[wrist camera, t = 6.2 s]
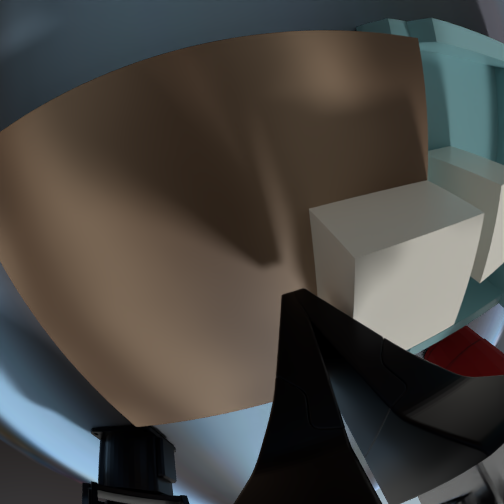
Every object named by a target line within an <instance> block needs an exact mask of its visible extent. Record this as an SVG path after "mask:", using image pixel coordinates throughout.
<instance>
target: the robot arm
mask: <svg viewBox="0 0 504 504" xmlns="http://www.w3.org/2000/svg"><path fill="white" fill-rule="evenodd" d="M340 412H341V413H340ZM341 414H342V416H343V418H344V420H345V422H346V424H347V426H348V428H349V429H350V431H351V433H352V435H353V437H354V439H355V441H356V443H357V445H358V447H359V448H360V450H361V452H362V454H363V456H364V458H365V460H366V462H367V464H368V466H369V468H370V470H371V471H372V473H373V475H374V477H375V479H376V481H377V483H378V485H379V487H380V488H381V490H382V492H383V494H384V496H385V498H386V500H387V502H388V504H400V503H403V502H405V501H408V500H410V499H413V498H415V497H417V496H418V498H419V500H420V502H421V504H504V375H497V376H484V377H467V376H462V375H459V374H456V373H453V372H451V371H449V370H447V369H444V368H442V367H440V366H438V365H436V364H433V363H431V362H429V361H427V360H425V359H422V358H420V357H418V356H416V355H414V354H412V353H410V352H408V351H406V350H405V349H403V348H401V347H399V346H398V345H396V344H394V343H393V342H391V341H389V340H388V339H386V338H383V336H381V335H379V334H378V333H376V332H374V331H373V330H371V329H370V328H368V327H366V326H365V325H363V324H362V323H360V322H358V321H357V320H355V319H353V318H352V317H350V316H349V315H347V314H345V313H344V312H342V311H340V310H339V309H337V308H336V307H334V306H332V305H331V304H329V303H328V302H326V301H324V300H323V299H321V298H319V297H318V296H316V295H315V294H313V293H311V292H310V291H308V290H307V289H305V288H302V289H298V290H295V291H292V292H288V293H285V294H282V296H281V310H280V325H279V340H278V353H277V366H276V378H275V388H274V396H273V403H272V408H271V413H270V417H269V421H268V425H267V429H266V432H265V436H264V440H263V443H262V447H261V450H260V454H259V457H258V460H257V463H256V465H255V468H254V470H253V473H252V475H251V477H250V478H249V480H248V482H247V483H246V485H245V487H244V488H243V490H242V491H241V493H240V495H239V496H238V498H237V499H236V501H235V502H234V504H382V502H381V501H380V499H379V497H378V495H377V493H376V491H375V490H374V488H373V486H372V484H371V482H370V480H369V478H368V477H367V475H366V473H365V471H364V469H363V467H362V465H361V464H360V462H359V460H358V458H357V456H356V454H355V453H354V451H353V449H352V447H351V444H350V442H349V439H348V436H347V433H346V430H345V426H344V423H343V420H342V417H341ZM91 434H93V435H94V436H95V437H97V438H98V439H99V440H100V452H99V474H98V484H97V483H96V482H92V481H91V484H90V483H83V484H82V504H127V503H131V504H189V501H188V498H187V496H185V495H180V496H173V489H172V483H175V482H176V481H177V480H176V470H175V459H174V452H176V448H175V447H174V446H173V445H171V444H170V443H169V442H168V441H166V440H165V439H164V438H163V437H162V436H160V435H159V434H158V433H157V432H156V431H155V430H153V429H152V428H151V427H150V426H142V427H136V426H127V427H112V428H92V429H91ZM98 497H99V498H104V499H109V500H105V502H102V501H98ZM110 500H114V501H110ZM116 501H119V502H116ZM121 502H126V503H121Z"/></svg>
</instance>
